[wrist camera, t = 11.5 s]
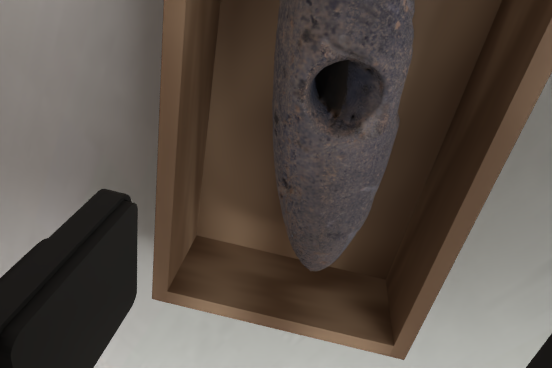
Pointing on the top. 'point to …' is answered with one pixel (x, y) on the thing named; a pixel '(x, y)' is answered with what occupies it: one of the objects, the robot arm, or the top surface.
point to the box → (393, 187)
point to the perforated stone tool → (335, 115)
